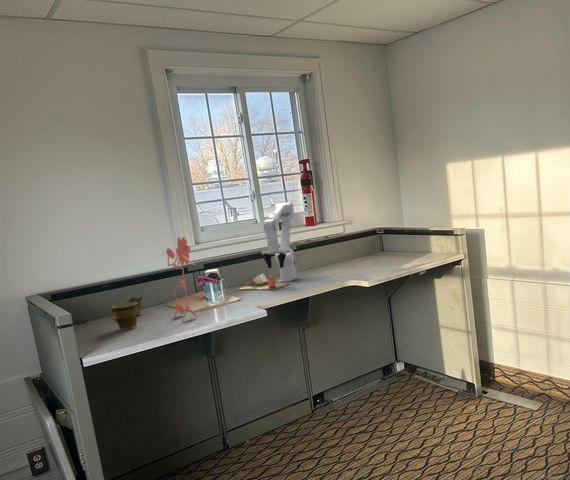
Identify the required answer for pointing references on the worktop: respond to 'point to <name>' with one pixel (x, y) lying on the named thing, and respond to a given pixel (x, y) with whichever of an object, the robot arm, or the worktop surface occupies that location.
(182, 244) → the figurine
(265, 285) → the board
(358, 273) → the worktop surface
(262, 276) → the die
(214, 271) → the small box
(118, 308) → the ceramic cup
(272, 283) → the pawn
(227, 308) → the worktop surface
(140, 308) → the cup
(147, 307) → the worktop surface
